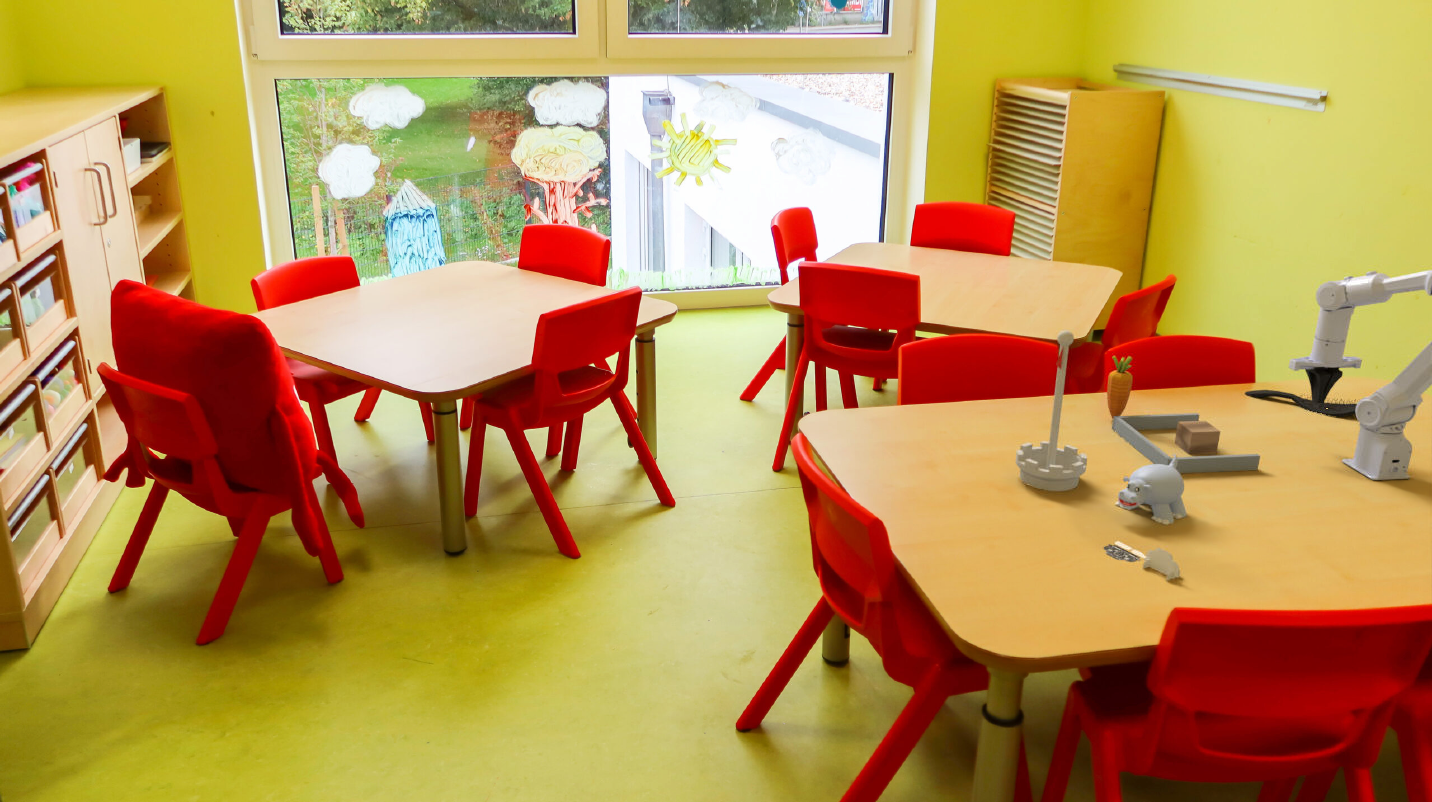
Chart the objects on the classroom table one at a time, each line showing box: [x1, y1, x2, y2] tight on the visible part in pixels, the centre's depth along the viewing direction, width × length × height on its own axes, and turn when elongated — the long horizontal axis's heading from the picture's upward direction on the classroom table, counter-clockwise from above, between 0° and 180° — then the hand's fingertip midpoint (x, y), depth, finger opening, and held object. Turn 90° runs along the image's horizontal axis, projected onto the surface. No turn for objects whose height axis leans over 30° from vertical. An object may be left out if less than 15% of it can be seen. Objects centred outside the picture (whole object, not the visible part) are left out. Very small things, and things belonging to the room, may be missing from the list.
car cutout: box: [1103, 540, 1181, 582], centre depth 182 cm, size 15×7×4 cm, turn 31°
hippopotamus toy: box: [1115, 453, 1188, 526], centre depth 198 cm, size 11×15×10 cm
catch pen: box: [1111, 412, 1261, 474], centre depth 228 cm, size 24×19×3 cm
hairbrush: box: [1244, 389, 1359, 418], centre depth 253 cm, size 8×4×25 cm
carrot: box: [1106, 355, 1134, 420], centre depth 241 cm, size 5×5×15 cm
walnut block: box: [1174, 420, 1221, 455], centre depth 228 cm, size 6×6×5 cm
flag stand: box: [1015, 329, 1088, 492], centre depth 208 cm, size 13×13×30 cm
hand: (1317, 401), depth 228 cm, fingers closed
